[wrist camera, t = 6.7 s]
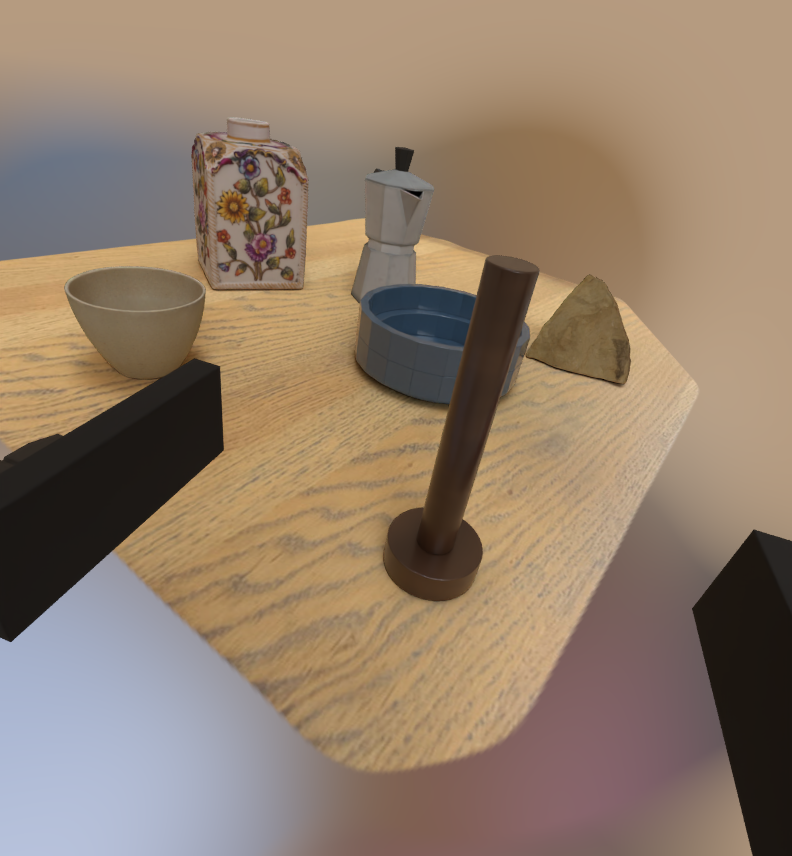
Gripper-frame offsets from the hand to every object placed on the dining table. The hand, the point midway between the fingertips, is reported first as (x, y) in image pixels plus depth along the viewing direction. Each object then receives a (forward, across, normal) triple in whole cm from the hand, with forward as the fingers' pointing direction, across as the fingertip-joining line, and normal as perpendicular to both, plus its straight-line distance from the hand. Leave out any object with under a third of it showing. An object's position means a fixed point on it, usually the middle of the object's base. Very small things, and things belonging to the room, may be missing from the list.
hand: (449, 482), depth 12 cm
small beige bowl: (+22, -29, -15) cm, 39 cm away
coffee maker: (+54, -18, -15) cm, 59 cm away
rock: (+46, +8, -15) cm, 49 cm away
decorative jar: (+49, -35, -15) cm, 62 cm away
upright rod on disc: (+11, 0, -15) cm, 19 cm away
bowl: (+36, -6, -15) cm, 40 cm away
